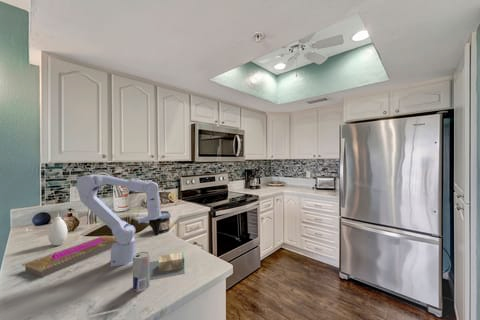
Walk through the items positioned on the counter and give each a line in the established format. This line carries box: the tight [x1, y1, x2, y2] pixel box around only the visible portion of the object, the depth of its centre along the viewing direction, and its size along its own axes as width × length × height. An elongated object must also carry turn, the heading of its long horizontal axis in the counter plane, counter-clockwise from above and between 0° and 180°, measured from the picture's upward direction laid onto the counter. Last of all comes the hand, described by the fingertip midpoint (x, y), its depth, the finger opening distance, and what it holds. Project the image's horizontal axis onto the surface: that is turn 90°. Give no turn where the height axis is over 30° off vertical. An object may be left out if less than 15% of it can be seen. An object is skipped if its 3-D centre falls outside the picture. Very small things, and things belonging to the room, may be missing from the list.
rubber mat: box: [150, 260, 186, 281], centre depth 83 cm, size 18×15×1 cm
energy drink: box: [132, 251, 151, 293], centre depth 70 cm, size 5×5×12 cm
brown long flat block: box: [21, 235, 117, 278], centre depth 96 cm, size 35×14×6 cm, turn 159°
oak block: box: [158, 251, 185, 272], centre depth 84 cm, size 4×6×10 cm
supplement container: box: [159, 210, 171, 234], centre depth 131 cm, size 10×10×12 cm
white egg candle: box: [47, 212, 69, 246], centre depth 109 cm, size 8×8×18 cm
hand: (156, 234), depth 94 cm, fingers closed
